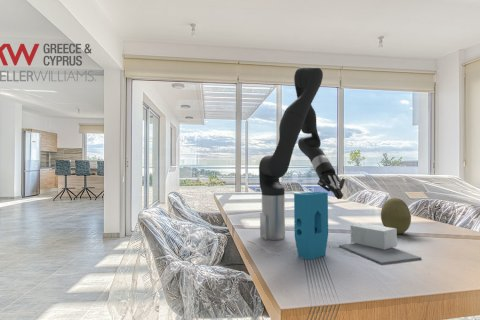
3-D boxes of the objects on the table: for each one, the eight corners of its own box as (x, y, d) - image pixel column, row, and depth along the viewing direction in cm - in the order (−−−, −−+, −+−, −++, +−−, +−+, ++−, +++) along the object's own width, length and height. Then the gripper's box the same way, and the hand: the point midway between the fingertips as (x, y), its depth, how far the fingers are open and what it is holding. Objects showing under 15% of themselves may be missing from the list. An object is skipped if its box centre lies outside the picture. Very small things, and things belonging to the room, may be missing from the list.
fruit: (377, 233, 124) (376, 198, 124) (385, 229, 132) (385, 195, 132) (407, 237, 116) (406, 200, 116) (414, 232, 124) (413, 197, 125)
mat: (381, 264, 85) (381, 262, 85) (338, 246, 104) (338, 244, 104) (421, 259, 89) (421, 257, 89) (373, 243, 108) (373, 241, 108)
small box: (350, 242, 108) (384, 250, 97) (350, 225, 108) (383, 230, 97) (363, 239, 112) (397, 246, 101) (363, 222, 113) (397, 228, 102)
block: (306, 261, 88) (305, 195, 89) (293, 257, 92) (292, 193, 93) (329, 253, 96) (329, 192, 96) (317, 250, 100) (316, 191, 100)
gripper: (313, 161, 126) (330, 192, 114) (339, 161, 130) (358, 191, 118) (306, 173, 131) (322, 204, 119) (332, 173, 135) (350, 202, 123)
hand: (340, 197), depth 118 cm, fingers closed
